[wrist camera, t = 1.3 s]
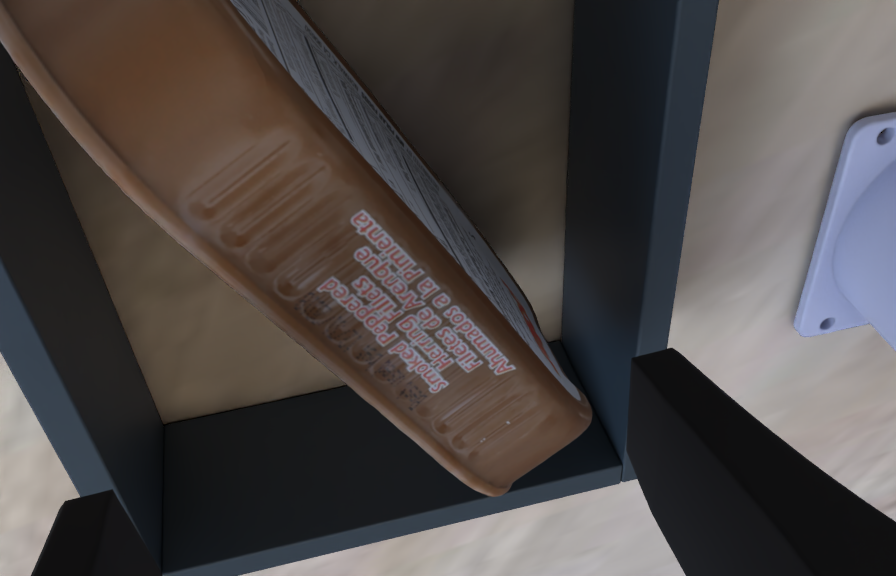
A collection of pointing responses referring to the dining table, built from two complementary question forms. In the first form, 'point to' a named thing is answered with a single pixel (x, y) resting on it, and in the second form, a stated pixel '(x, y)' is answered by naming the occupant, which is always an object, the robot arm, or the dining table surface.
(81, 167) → the dining table surface
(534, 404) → the tin
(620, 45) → the bin
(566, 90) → the dining table surface
